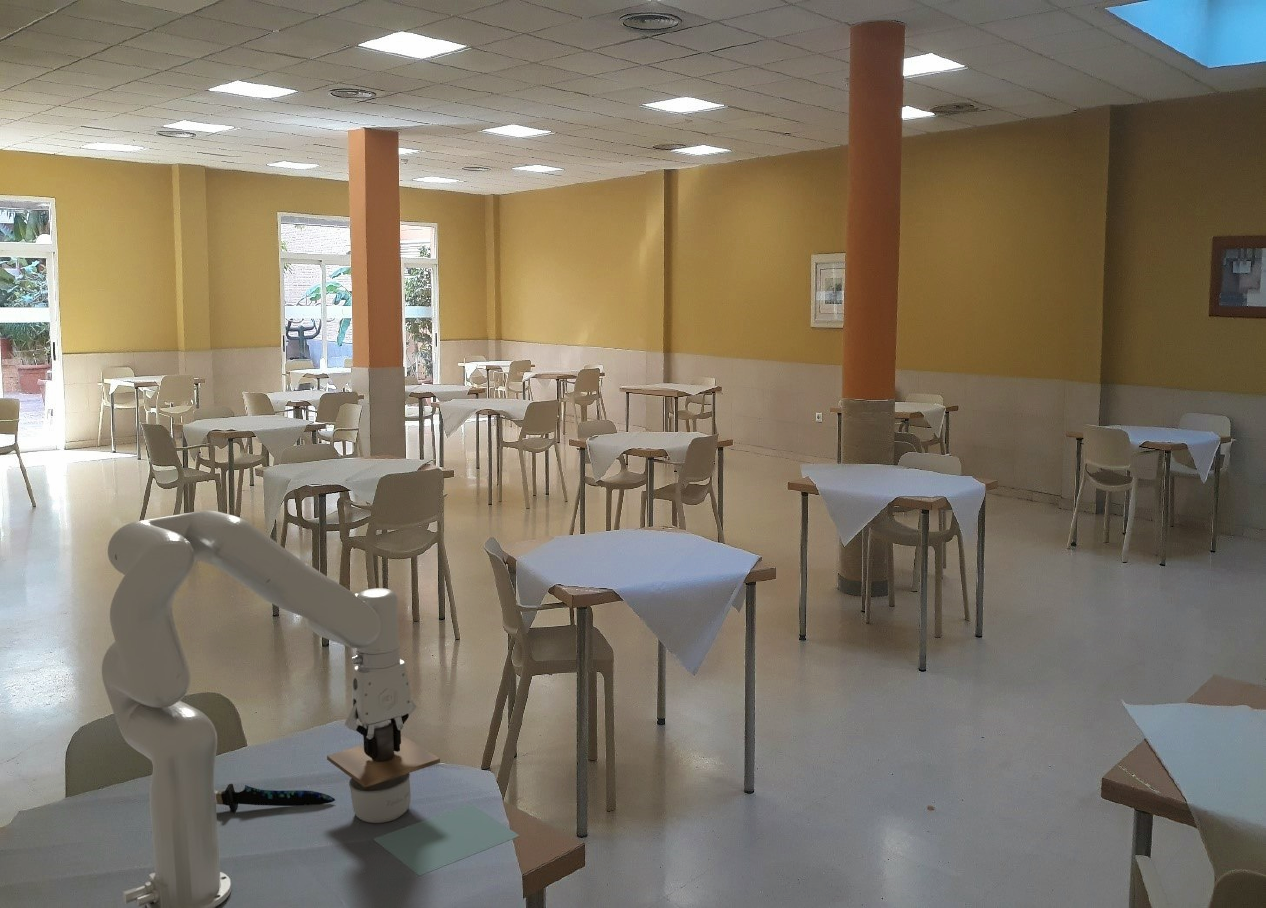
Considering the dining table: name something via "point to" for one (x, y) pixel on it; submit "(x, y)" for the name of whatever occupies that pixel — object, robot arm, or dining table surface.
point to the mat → (445, 839)
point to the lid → (383, 758)
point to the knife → (269, 797)
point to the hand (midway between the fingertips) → (382, 752)
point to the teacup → (381, 799)
